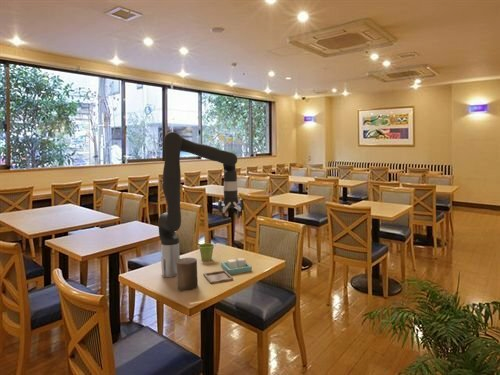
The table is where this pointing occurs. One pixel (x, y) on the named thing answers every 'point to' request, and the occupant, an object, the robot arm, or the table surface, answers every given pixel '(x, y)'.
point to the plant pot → (206, 251)
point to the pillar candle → (187, 274)
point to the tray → (218, 276)
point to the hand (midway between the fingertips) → (231, 218)
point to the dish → (236, 270)
